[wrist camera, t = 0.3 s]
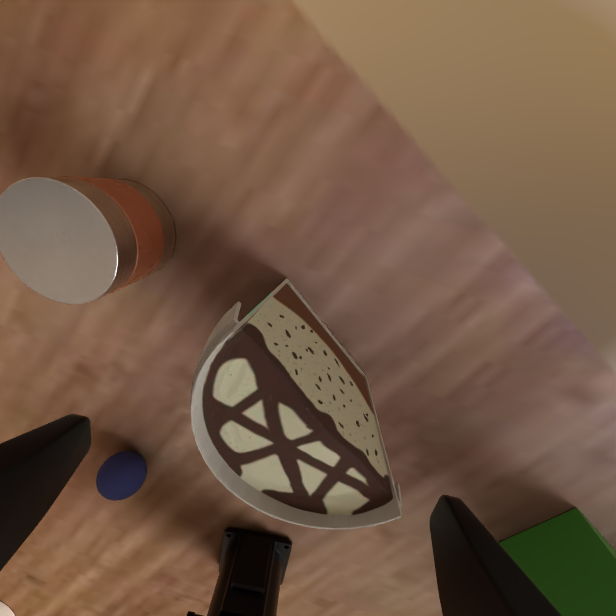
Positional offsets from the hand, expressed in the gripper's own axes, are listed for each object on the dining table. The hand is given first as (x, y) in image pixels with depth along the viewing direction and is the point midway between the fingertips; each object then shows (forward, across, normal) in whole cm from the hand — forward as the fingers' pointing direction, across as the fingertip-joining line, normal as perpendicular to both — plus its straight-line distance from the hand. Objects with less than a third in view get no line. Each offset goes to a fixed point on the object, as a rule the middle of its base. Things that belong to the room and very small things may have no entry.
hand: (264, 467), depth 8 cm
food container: (+14, 0, +5) cm, 15 cm away
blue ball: (+14, +12, +18) cm, 26 cm away
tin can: (+14, +12, -2) cm, 19 cm away
